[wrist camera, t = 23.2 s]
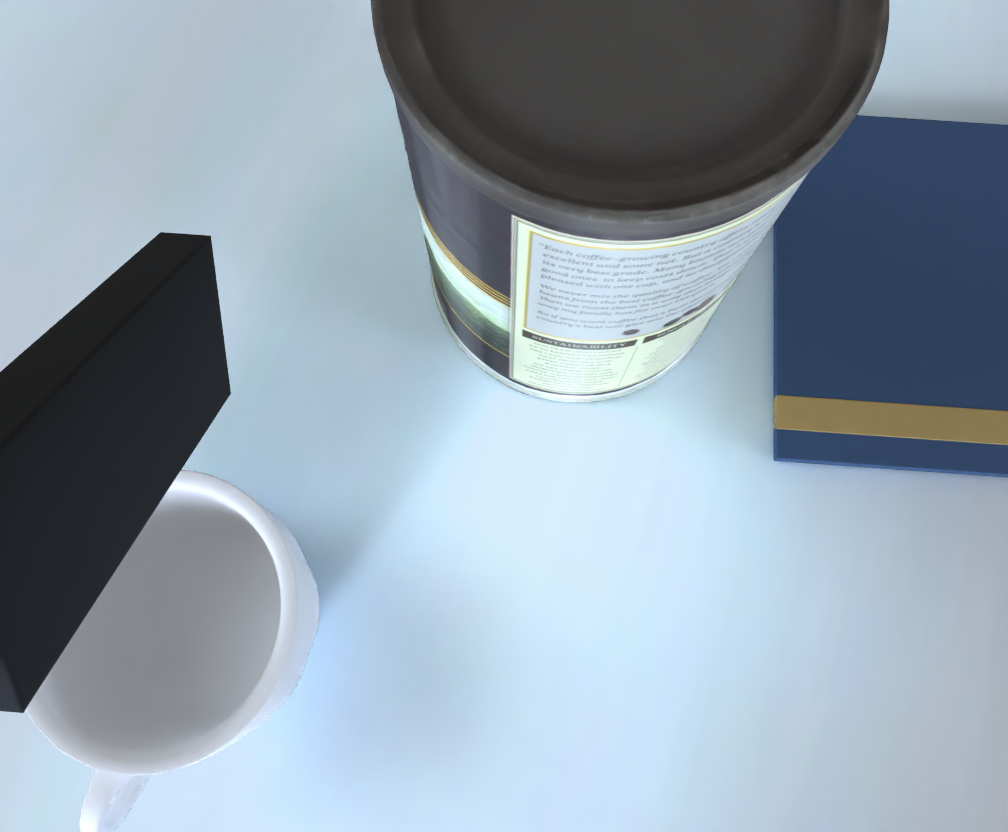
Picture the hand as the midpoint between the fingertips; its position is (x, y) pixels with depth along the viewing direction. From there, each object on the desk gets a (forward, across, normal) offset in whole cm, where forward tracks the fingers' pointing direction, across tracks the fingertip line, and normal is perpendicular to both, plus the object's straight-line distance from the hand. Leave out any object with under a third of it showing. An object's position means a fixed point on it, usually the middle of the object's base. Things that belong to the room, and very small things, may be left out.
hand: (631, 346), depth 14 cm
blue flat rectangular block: (+17, +17, -5) cm, 25 cm away
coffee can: (+17, 0, -6) cm, 18 cm away
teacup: (+7, -11, -16) cm, 20 cm away
